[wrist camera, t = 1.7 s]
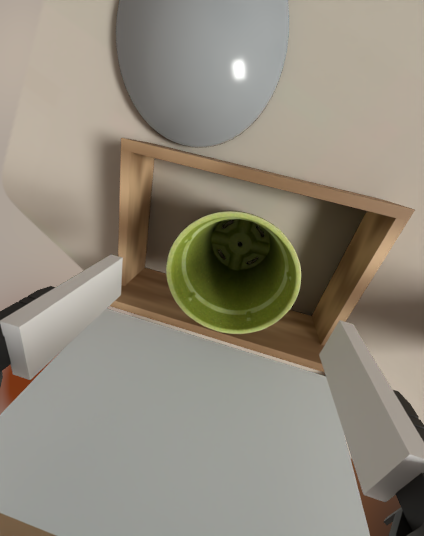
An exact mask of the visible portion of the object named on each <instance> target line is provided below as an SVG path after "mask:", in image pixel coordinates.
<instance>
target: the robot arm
mask: <svg viewBox="0 0 424 536" xmlns="http://www.w3.org/2000/svg"><path fill="white" fill-rule="evenodd" d="M122 261H123V258H122V257H118V256H115V255H109V256H107V257H106V258H104V259H102V260H101V261H99V262H97V263H96V264H94V265H92V266H91V267H89V268H87V269H86V270H84V271H82V272H81V273H79V274H78V275H76V276H74V277H72V278H71V279H69V280H67V281H66V282H64V283H62V284H61V285H59V286H57V287H52V286H50V287H47V288H44V289H40V290H38V291H36V292H34V293H33V294H31V295H29V296H28V297H25V298H23V299H22V300H20V301H19V302H16V303H15V304H13V305H11V306H10V307H8V308H6V309H4V310H2V311H0V386H1V382H2V377H3V376H2V370H3V369H5V368H6V367H7V366H9V365H10V364H11V368H12V372H13V374H14V375H17V376H20V377H23V378H26V379H29V380H31V379H32V378H33V377H34V376H35V375H36V374H37V373H38V372H39V371H40V370H41V369H43V368H44V367H45V365H47V364H48V363H49V362H50V361H51V360H52V359H53V358H54V357H55V356H56V355H57V354H59V353H60V352H61V351H62V350H63V349H64V348H65V347H66V346H67V345H68V344H69V343H70V342H71V341H72V340H74V339H75V338H76V337H77V336H78V335H79V334H80V333H81V332H82V331H83V330H84V329H85V328H86V327H87V326H88V325H90V324H91V323H92V322H93V321H94V320H95V319H96V318H97V317H98V316H99V315H100V314H101V313H102V312H103V311H105V310H106V309H107V308H108V307H109V306H110V305H111V304H112V303H113V302H114V301H115V300H116V299H117V298H118V297H119V296H121V283H122ZM319 356H320V359H321V362H322V366H323V369H324V372H325V375H326V378H327V381H328V384H329V387H330V391H331V394H332V397H333V400H334V403H335V406H336V409H337V413H338V416H339V419H340V422H341V425H342V428H343V431H344V434H345V438H346V441H347V444H348V447H349V450H350V453H351V456H352V460H353V463H354V465H355V469H356V472H357V475H358V478H359V482H360V485H361V488H362V491H363V494H364V495H366V496H369V497H372V498H375V499H378V500H381V501H384V502H387V501H388V500H389V499H390V498H392V497H393V496H394V495H396V496H397V498H398V500H399V503H400V505H401V508H399V509H398V510H397V511H395V512H394V513H392V514H391V515H390V516H388V517H387V518H386V519H385V521H384V523H385V524H386V525H388V524H390V523H391V522H393V523H392V527H391V530H390V533H389V536H424V425H423V423H422V422H421V420H419V419H418V415H417V414H416V412H415V411H414V409H413V408H412V406H411V404H410V403H409V402H408V401H407V400H406V399H405V398H404V397H403V396H402V395H401V394H400V393H399V392H398V391H395V390H392V388H391V386H390V385H389V383H388V381H387V380H386V378H385V376H384V375H383V373H382V371H381V370H380V368H379V366H378V365H377V363H376V361H375V360H374V358H373V356H372V355H371V353H370V351H369V350H368V348H367V346H366V345H365V343H364V341H363V340H362V338H361V336H360V335H359V333H358V331H357V329H356V328H355V326H354V324H351V323H348V322H344V321H341V320H339V322H338V324H337V325H336V327H335V329H334V330H333V332H332V334H331V336H330V337H329V339H328V341H327V342H326V344H325V346H324V347H323V349H322V351H321V352H320V354H319Z"/></svg>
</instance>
